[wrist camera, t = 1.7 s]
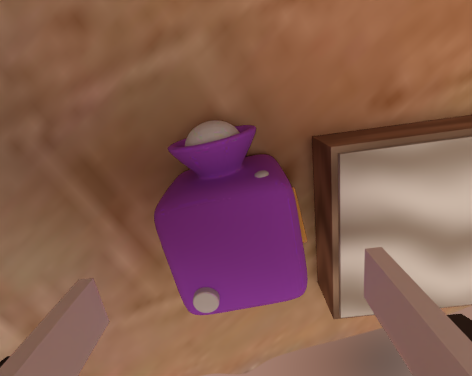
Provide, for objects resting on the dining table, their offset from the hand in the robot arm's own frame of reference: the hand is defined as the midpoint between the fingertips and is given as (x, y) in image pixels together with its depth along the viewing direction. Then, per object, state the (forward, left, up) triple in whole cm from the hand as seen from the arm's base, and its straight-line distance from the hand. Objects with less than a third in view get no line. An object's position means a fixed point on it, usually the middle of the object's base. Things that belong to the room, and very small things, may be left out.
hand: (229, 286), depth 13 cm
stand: (+4, +16, -13) cm, 21 cm away
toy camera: (0, 0, -14) cm, 14 cm away
